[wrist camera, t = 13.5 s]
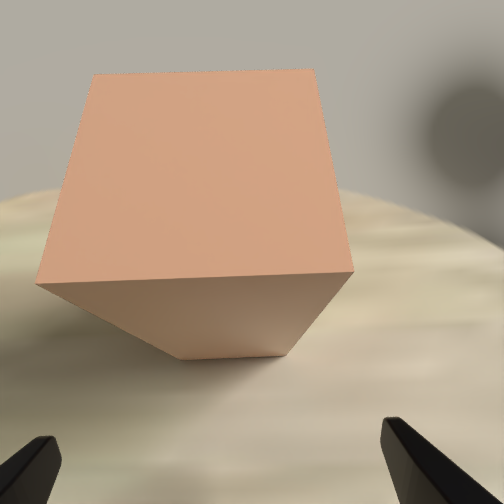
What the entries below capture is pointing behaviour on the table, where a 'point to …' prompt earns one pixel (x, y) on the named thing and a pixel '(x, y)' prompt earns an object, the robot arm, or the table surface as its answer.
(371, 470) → the table surface
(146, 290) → the peach colored post
